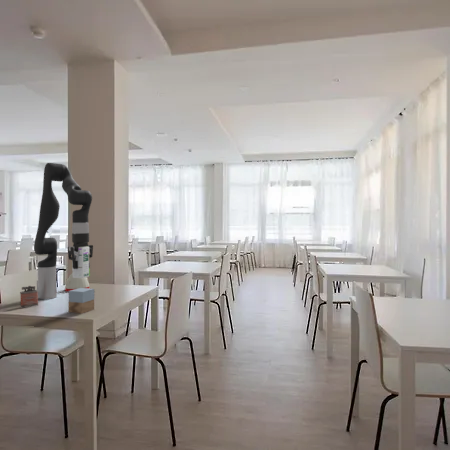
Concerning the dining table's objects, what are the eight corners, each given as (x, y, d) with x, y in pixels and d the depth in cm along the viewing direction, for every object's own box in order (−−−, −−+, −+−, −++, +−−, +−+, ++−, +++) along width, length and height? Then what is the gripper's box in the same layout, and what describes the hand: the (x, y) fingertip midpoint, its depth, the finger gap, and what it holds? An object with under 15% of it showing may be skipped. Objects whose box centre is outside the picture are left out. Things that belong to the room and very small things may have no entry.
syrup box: (83, 278, 169) (83, 247, 169) (71, 278, 170) (71, 246, 170) (90, 276, 175) (90, 246, 175) (79, 276, 176) (78, 246, 176)
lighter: (36, 304, 187) (36, 284, 187) (39, 305, 185) (38, 285, 185) (19, 306, 181) (19, 286, 181) (21, 307, 179) (21, 287, 179)
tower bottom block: (68, 312, 170) (68, 301, 170) (81, 308, 178) (81, 298, 178) (81, 313, 167) (81, 302, 167) (94, 309, 175) (94, 299, 175)
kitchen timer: (84, 286, 237) (83, 263, 237) (92, 289, 227) (92, 265, 226) (61, 289, 227) (61, 265, 227) (70, 292, 217) (69, 267, 217)
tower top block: (68, 301, 170) (68, 291, 170) (80, 298, 178) (80, 287, 177) (82, 302, 167) (82, 291, 167) (94, 299, 175) (94, 288, 175)
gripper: (85, 231, 180) (86, 265, 181) (62, 232, 167) (62, 269, 167) (97, 232, 177) (98, 266, 178) (75, 233, 164) (75, 270, 164)
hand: (81, 267), depth 172 cm, fingers closed on syrup box, 6 cm apart
